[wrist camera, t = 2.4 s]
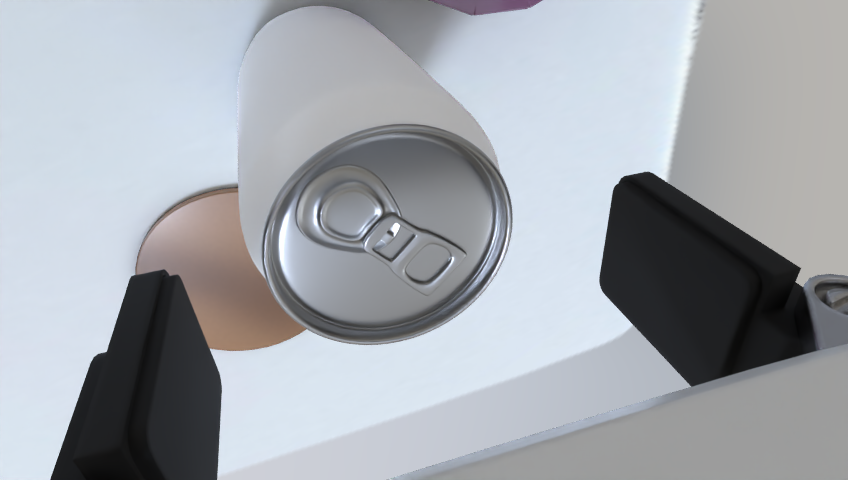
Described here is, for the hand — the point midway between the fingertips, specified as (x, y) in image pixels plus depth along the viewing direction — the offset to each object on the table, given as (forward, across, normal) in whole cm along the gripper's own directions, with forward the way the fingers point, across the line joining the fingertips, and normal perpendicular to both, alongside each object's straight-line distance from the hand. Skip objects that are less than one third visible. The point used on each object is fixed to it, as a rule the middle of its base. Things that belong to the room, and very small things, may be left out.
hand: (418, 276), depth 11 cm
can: (+13, 0, -1) cm, 13 cm away
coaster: (+13, +6, +7) cm, 16 cm away
